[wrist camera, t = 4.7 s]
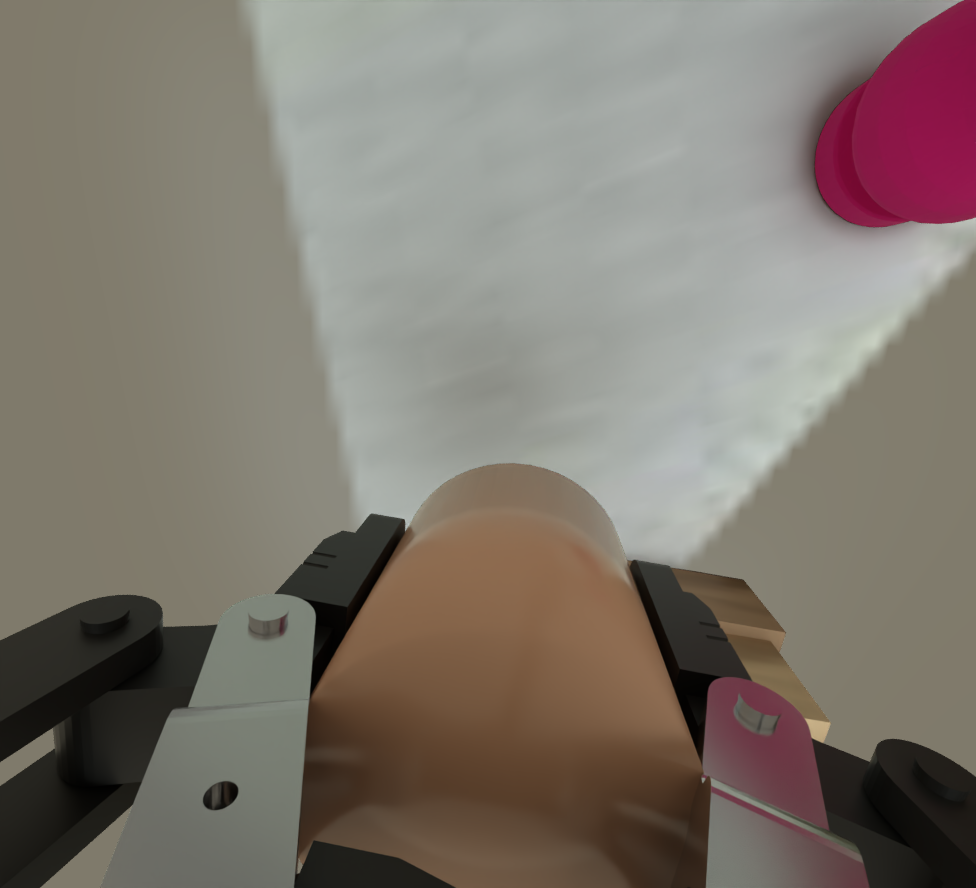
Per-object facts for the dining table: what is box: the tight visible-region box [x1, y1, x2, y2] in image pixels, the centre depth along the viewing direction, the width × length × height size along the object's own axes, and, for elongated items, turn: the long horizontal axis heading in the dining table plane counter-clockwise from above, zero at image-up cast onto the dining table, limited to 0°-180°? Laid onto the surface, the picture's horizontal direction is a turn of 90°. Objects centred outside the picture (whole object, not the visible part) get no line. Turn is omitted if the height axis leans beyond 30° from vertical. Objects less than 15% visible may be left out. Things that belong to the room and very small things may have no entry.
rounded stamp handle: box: [299, 463, 704, 888], centre depth 9 cm, size 5×5×6 cm
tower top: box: [725, 633, 831, 743], centre depth 22 cm, size 6×6×5 cm
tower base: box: [627, 560, 786, 652], centre depth 27 cm, size 7×7×5 cm
